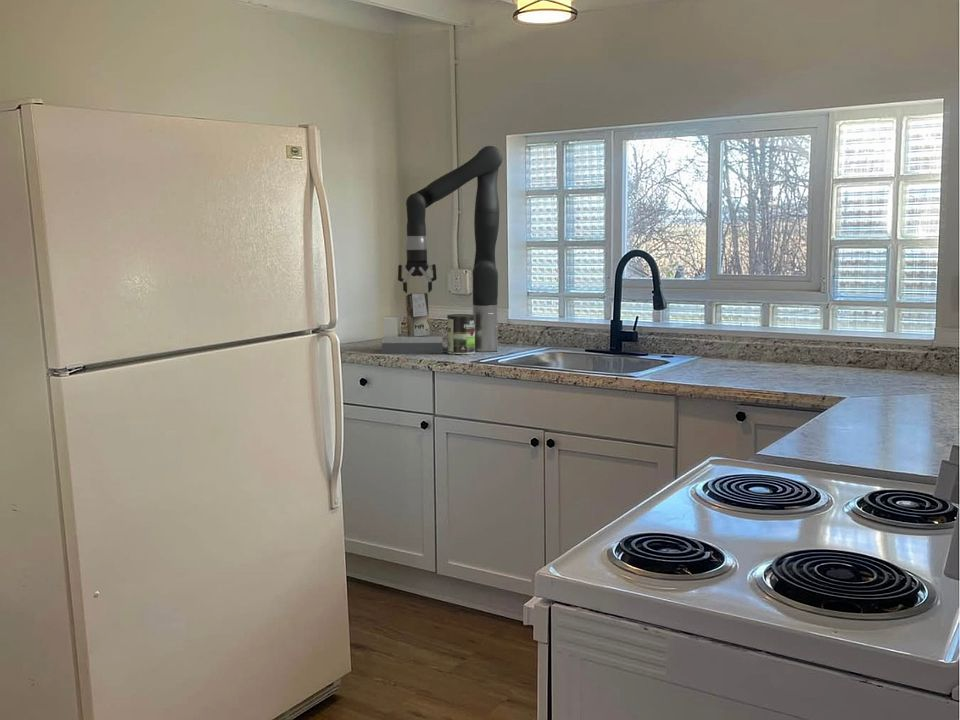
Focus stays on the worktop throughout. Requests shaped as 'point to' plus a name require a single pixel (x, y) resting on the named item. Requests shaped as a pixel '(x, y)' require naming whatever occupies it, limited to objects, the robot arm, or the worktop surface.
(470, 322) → the coffee can
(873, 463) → the worktop surface
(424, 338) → the rail
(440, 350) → the rail base
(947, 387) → the worktop surface
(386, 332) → the block
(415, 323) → the coffee box
